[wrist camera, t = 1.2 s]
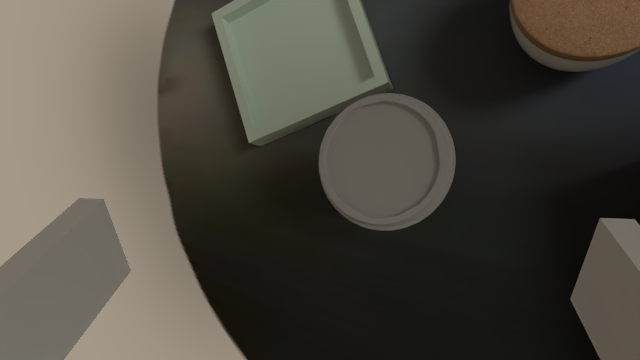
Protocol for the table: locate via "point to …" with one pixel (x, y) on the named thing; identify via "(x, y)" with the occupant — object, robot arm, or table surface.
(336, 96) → the tray
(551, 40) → the lidded jar
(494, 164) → the table surface
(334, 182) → the disposable coffee cup
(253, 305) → the table surface
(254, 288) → the table surface
